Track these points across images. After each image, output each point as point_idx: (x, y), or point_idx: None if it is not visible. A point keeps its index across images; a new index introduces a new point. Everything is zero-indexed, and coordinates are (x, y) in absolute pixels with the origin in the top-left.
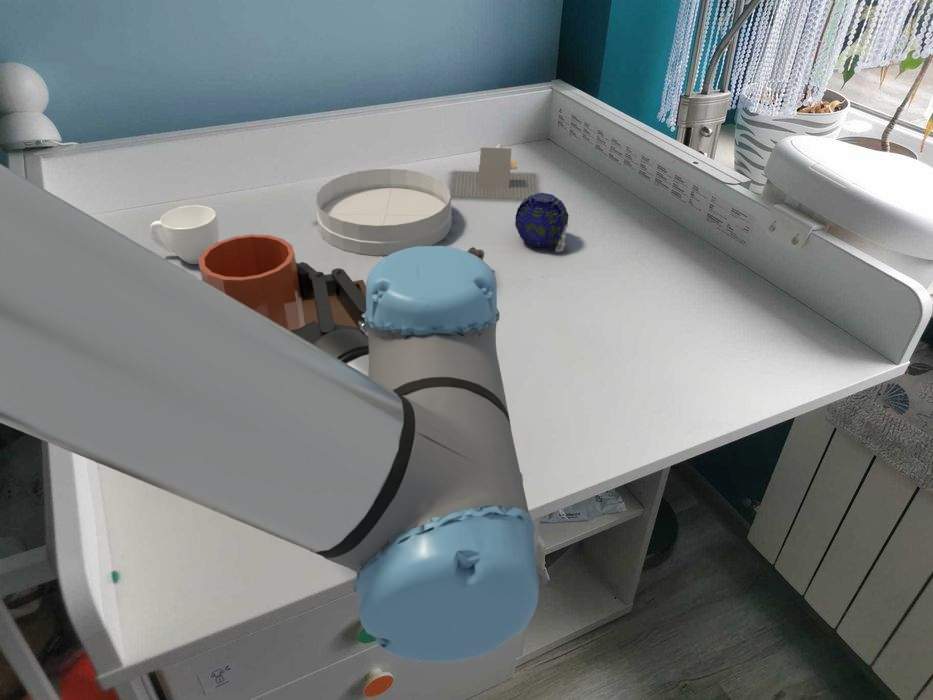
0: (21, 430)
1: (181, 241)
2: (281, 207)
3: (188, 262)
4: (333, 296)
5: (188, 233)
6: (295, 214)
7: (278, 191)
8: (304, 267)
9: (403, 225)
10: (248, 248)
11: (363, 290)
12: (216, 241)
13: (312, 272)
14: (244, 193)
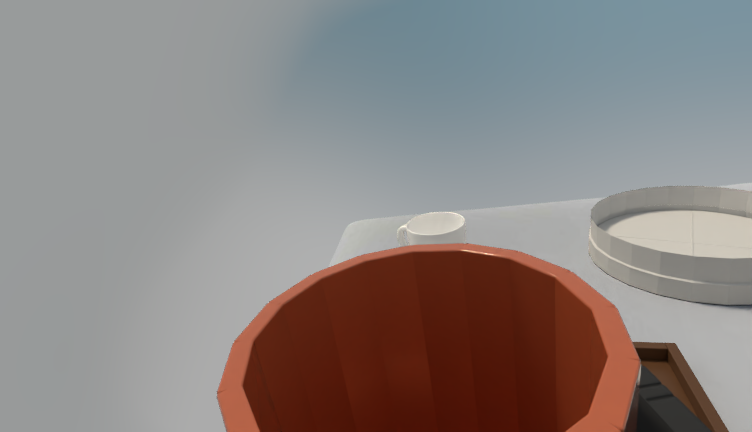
0: None
1: None
2: (542, 224)
3: None
4: None
5: (429, 240)
6: (558, 232)
7: (541, 208)
8: (640, 386)
9: (747, 260)
10: (448, 285)
11: (680, 366)
12: None
13: (686, 427)
14: (505, 208)
